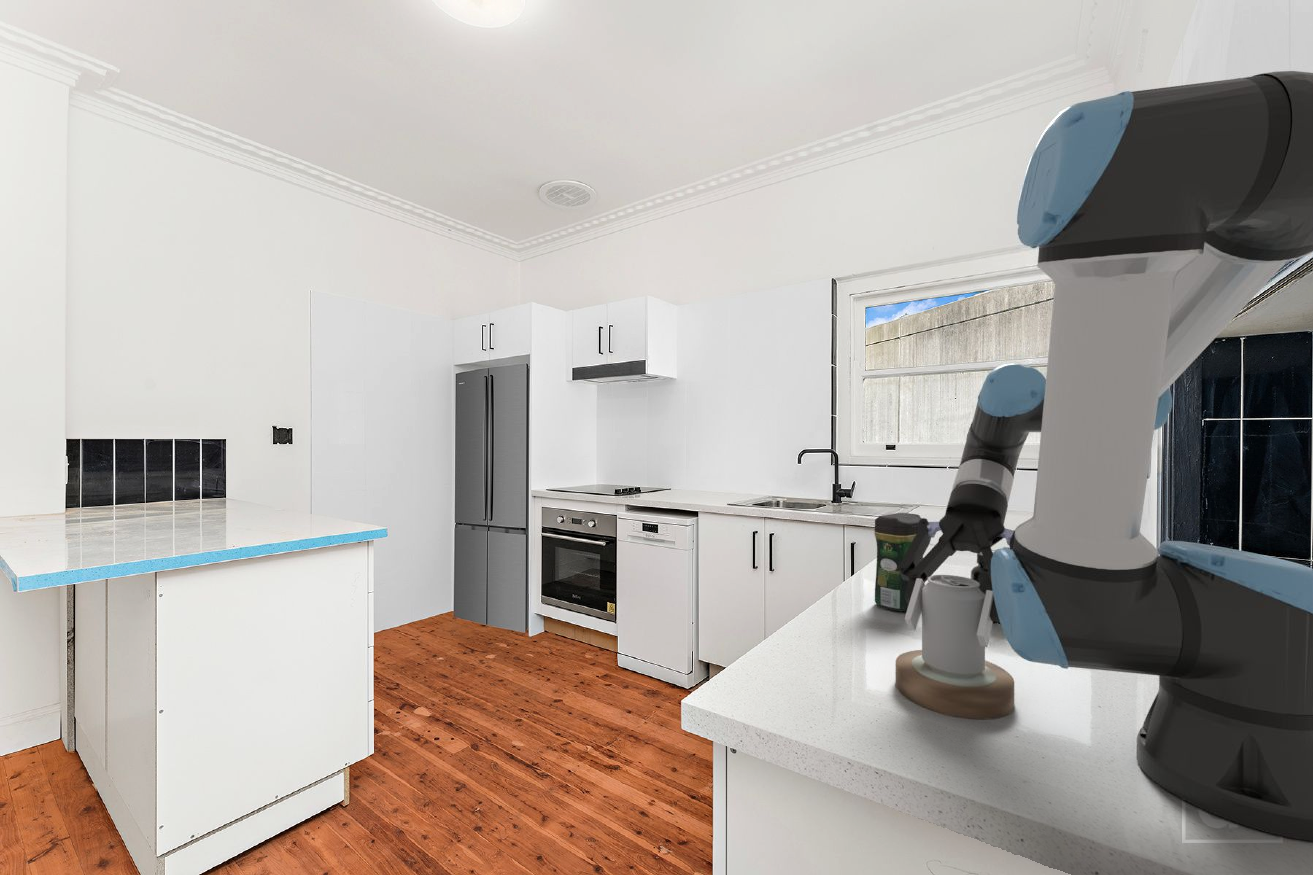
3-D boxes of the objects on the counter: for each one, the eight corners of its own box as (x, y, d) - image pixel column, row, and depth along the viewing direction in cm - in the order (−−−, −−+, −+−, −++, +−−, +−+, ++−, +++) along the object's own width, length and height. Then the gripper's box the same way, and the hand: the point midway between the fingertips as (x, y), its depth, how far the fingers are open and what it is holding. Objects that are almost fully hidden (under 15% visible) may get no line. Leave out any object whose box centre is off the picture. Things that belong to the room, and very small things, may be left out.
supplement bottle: (961, 615, 107) (962, 552, 107) (985, 610, 110) (986, 548, 109) (997, 626, 101) (997, 559, 100) (1021, 621, 103) (1021, 556, 103)
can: (951, 684, 71) (951, 588, 71) (909, 660, 78) (909, 574, 78) (999, 676, 73) (999, 584, 73) (954, 654, 80) (954, 570, 80)
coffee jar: (895, 597, 119) (896, 509, 118) (932, 606, 112) (932, 513, 112) (866, 605, 113) (867, 512, 113) (902, 615, 107) (903, 517, 106)
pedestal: (1041, 715, 69) (1041, 689, 69) (934, 722, 68) (934, 696, 68) (966, 667, 83) (966, 646, 83) (876, 672, 82) (876, 650, 82)
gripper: (1067, 520, 79) (1044, 670, 68) (913, 507, 93) (873, 628, 82) (1061, 485, 75) (1036, 637, 64) (901, 476, 89) (857, 600, 78)
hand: (944, 632), depth 73 cm, fingers open, 8 cm apart
